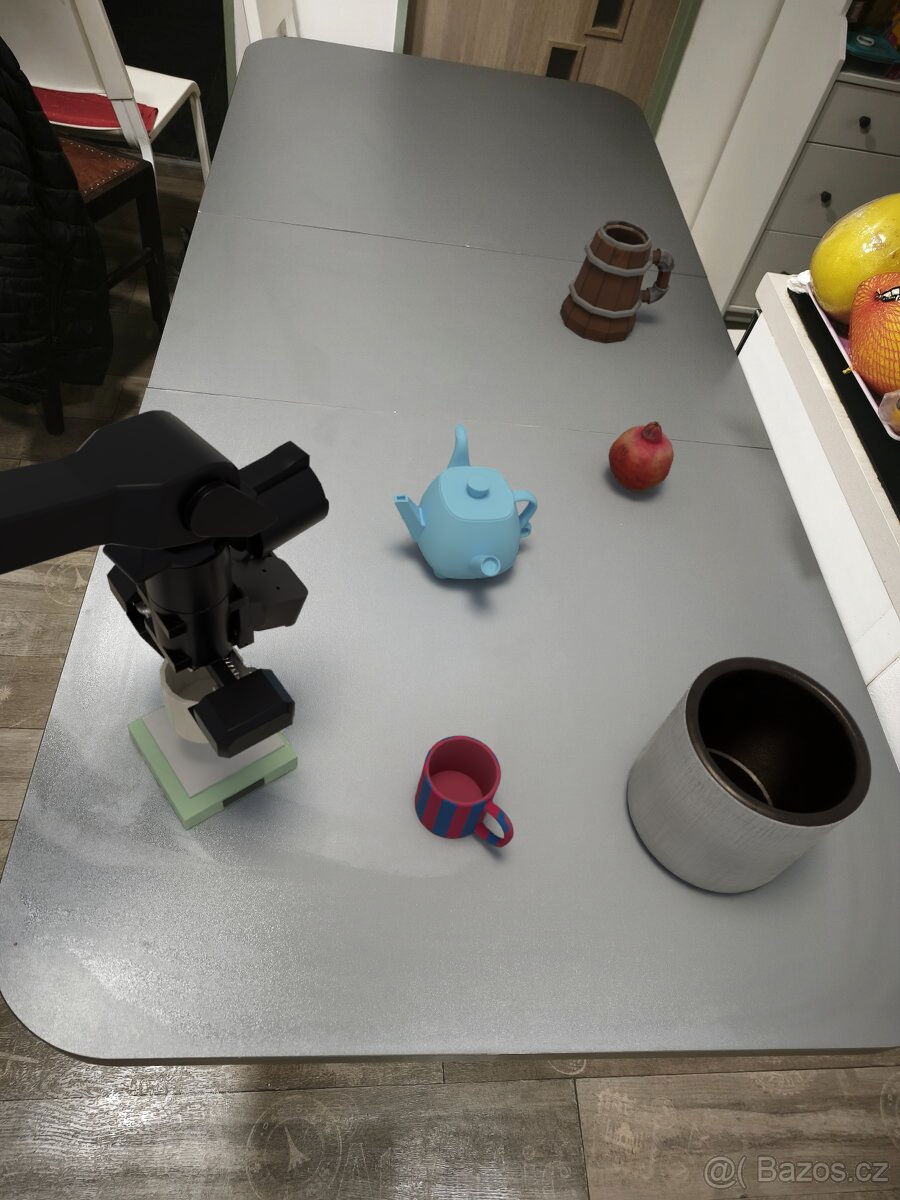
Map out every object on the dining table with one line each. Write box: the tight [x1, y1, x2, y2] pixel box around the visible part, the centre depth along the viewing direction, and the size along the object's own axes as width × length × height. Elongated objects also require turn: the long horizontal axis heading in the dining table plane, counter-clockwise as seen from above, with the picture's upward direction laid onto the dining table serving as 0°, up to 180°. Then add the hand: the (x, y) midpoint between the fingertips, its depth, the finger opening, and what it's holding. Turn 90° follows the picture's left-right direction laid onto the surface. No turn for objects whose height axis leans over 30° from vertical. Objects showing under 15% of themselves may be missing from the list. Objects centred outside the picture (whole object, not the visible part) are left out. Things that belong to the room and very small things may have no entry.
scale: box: [126, 705, 299, 831], centre depth 74 cm, size 11×11×2 cm
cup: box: [414, 735, 515, 848], centre depth 72 cm, size 7×10×7 cm
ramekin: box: [159, 646, 245, 743], centre depth 67 cm, size 6×6×6 cm
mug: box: [559, 218, 676, 344], centre depth 126 cm, size 16×12×15 cm
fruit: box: [608, 420, 675, 492], centre depth 104 cm, size 8×8×10 cm
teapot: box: [393, 423, 538, 580], centre depth 91 cm, size 15×14×11 cm
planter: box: [627, 656, 872, 894], centre depth 72 cm, size 16×16×16 cm
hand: (206, 701), depth 68 cm, fingers closed on ramekin, 6 cm apart
